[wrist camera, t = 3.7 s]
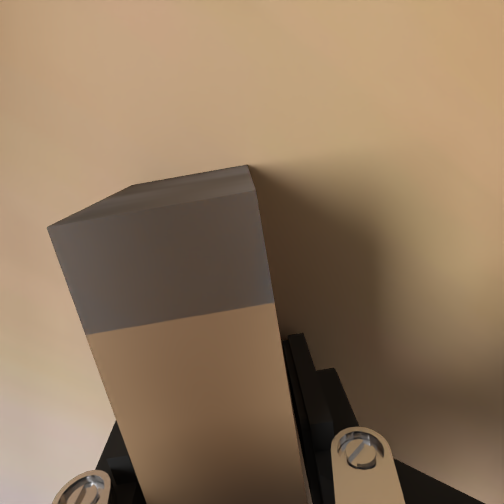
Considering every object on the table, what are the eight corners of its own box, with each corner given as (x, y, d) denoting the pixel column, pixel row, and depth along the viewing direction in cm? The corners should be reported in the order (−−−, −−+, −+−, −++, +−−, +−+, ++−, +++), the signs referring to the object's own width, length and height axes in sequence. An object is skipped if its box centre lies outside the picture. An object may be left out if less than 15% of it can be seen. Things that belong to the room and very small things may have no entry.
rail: (224, 520, 15) (218, 702, 10) (132, 185, 11) (46, 227, 6) (305, 507, 15) (337, 682, 10) (247, 164, 10) (255, 190, 6)
